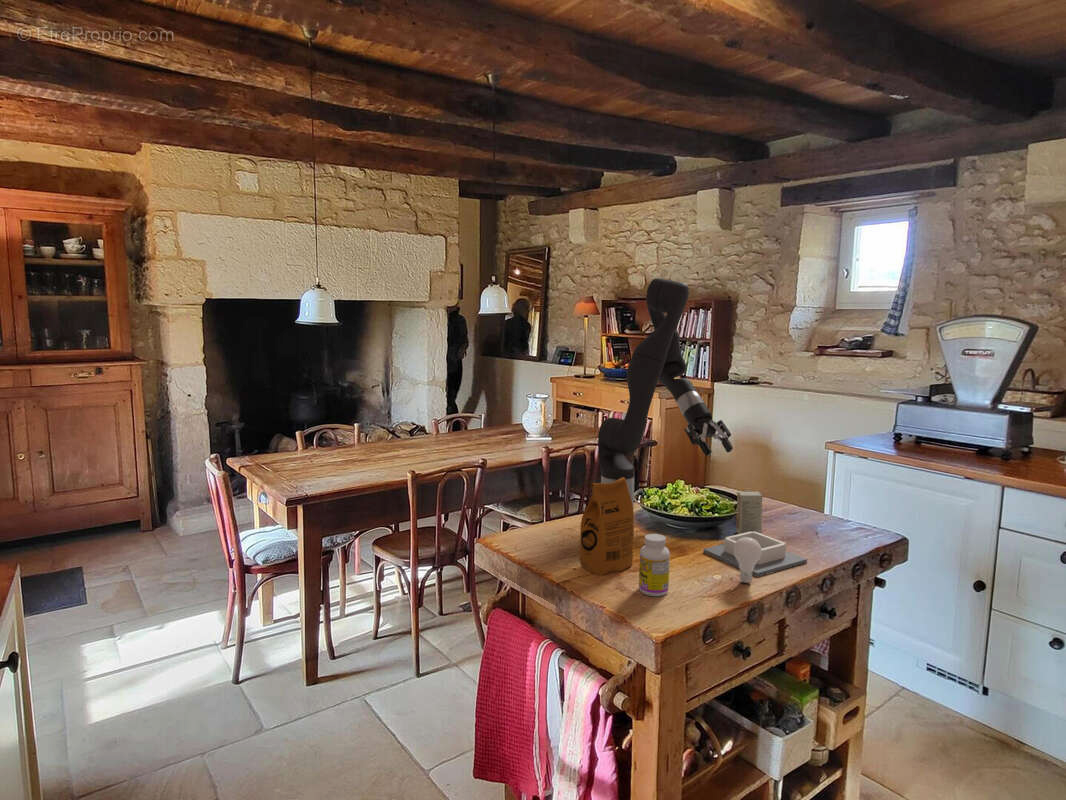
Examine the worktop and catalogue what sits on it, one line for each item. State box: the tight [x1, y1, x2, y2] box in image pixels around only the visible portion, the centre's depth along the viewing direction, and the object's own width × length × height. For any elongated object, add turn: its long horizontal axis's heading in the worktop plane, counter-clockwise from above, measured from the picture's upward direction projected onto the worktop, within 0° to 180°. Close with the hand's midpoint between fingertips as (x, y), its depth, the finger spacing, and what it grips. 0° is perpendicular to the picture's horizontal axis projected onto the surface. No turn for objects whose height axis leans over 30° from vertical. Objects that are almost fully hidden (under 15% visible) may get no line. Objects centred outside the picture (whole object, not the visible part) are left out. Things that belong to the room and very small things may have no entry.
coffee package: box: [579, 477, 635, 576], centre depth 162 cm, size 10×12×22 cm
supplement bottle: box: [638, 533, 671, 597], centre depth 149 cm, size 7×7×13 cm
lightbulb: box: [733, 537, 762, 584], centre depth 153 cm, size 6×6×11 cm
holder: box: [703, 531, 808, 577], centre depth 169 cm, size 18×18×4 cm
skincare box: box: [735, 490, 763, 535], centre depth 186 cm, size 6×4×12 cm
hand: (719, 452), depth 194 cm, fingers open, 8 cm apart
